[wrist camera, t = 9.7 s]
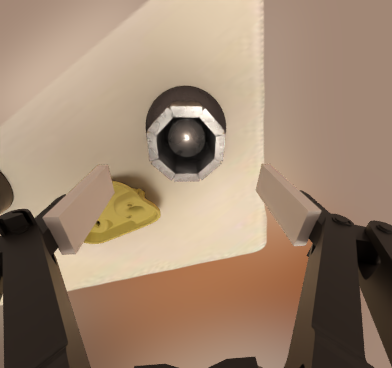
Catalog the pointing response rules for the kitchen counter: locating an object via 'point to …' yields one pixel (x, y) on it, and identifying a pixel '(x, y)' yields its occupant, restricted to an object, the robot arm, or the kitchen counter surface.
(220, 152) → the collar
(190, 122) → the duct stub
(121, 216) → the plastic component
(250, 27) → the kitchen counter surface
